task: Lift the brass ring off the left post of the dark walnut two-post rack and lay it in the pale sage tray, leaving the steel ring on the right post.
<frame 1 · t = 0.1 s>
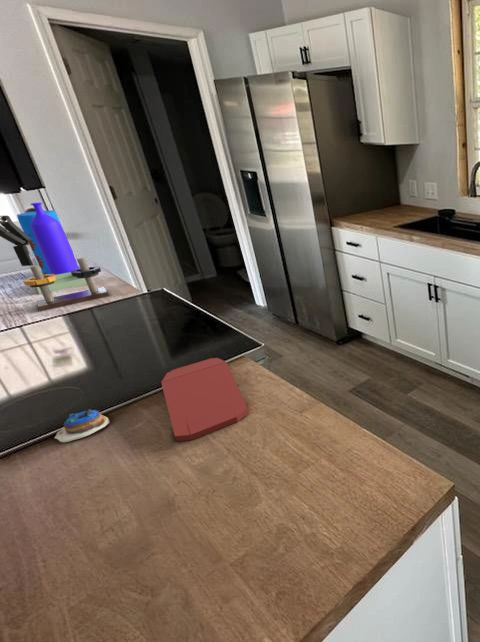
hand: (6, 272, 127), 15 cm above the worktop, tool pointing down, fingers open, 13 cm apart
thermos: (61, 271, 175), on the worktop
ring right: (86, 273, 144), point 9 cm above the worktop, touching rack
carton: (205, 402, 90), on the worktop
rack: (75, 301, 144), on the worktop
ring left: (41, 281, 137), point 9 cm above the worktop, touching rack
tray: (63, 285, 159), on the worktop
dessert: (84, 430, 82), on the worktop
bottle: (67, 276, 169), on the worktop
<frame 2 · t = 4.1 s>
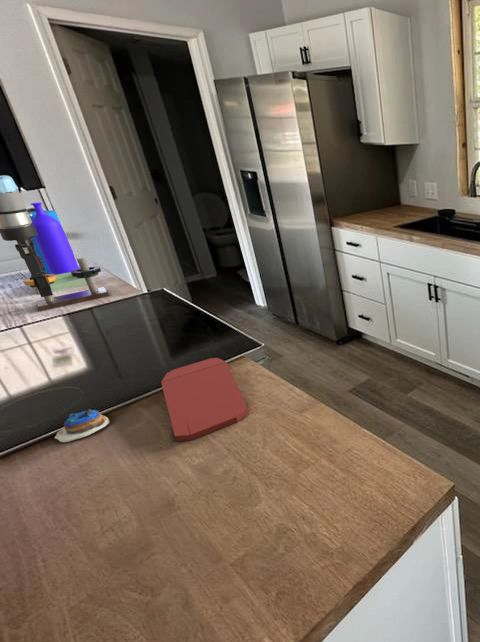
hand: (46, 293, 138), 5 cm above the worktop, tool pointing down, fingers closed on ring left, 7 cm apart
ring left: (41, 281, 137), point 9 cm above the worktop, touching gripper, rack
everything else where it was.
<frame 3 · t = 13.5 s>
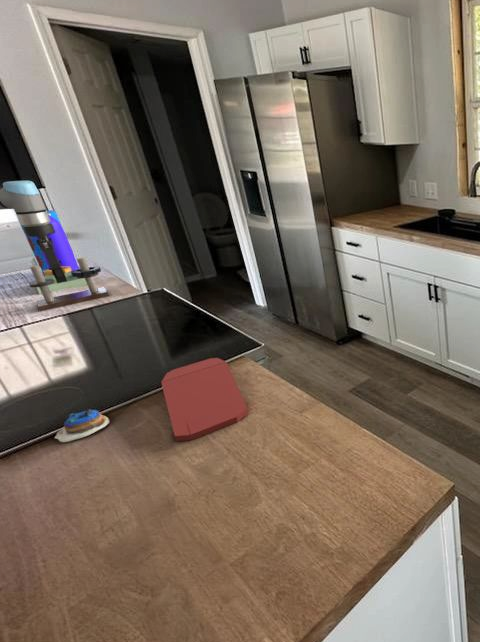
hand: (62, 282, 159), 1 cm above the worktop, tool pointing down, fingers closed on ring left, 7 cm apart
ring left: (58, 272, 157), point 5 cm above the worktop, touching gripper
everything else where it was.
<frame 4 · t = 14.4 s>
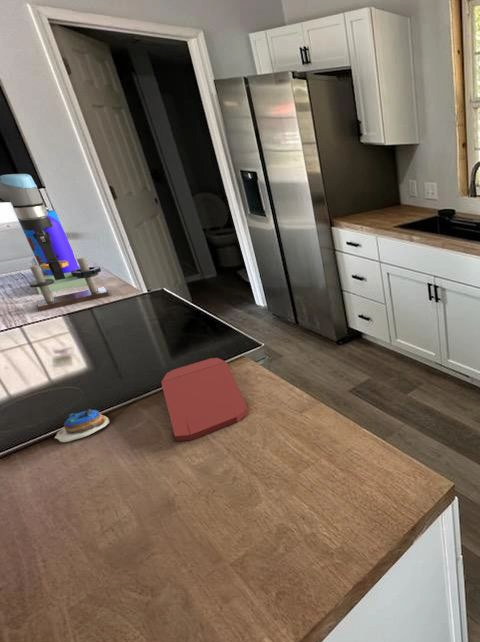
hand: (59, 276, 158), 3 cm above the worktop, tool pointing down, fingers closed on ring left, 7 cm apart
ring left: (55, 266, 156), point 7 cm above the worktop, touching gripper
everything else where it was.
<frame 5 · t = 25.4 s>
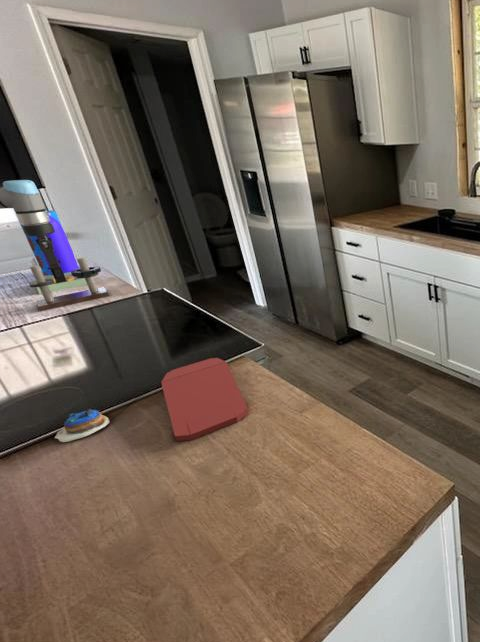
hand: (61, 282, 159), 1 cm above the worktop, tool pointing down, fingers closed on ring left, 7 cm apart
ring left: (62, 282, 159), point 1 cm above the worktop, touching gripper
everything else where it was.
when the fingers open (3 cm above the worktop, at t = 26.0 s): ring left drops 2 cm, resting on tray.
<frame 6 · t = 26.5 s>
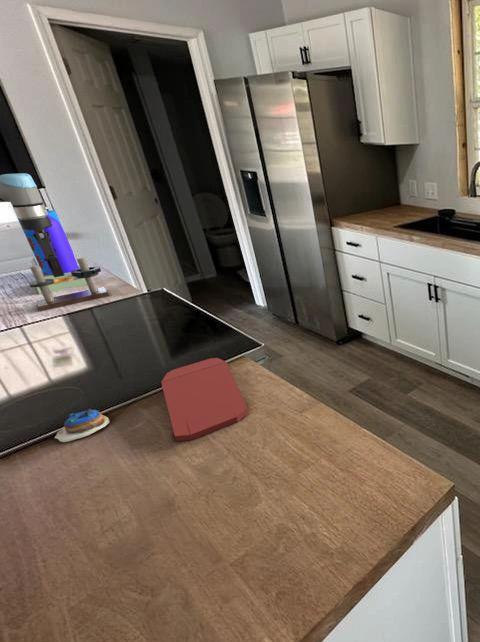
hand: (58, 272, 157), 5 cm above the worktop, tool pointing down, fingers open, 13 cm apart
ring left: (62, 283, 159), point 1 cm above the worktop, touching tray
bottle: (67, 276, 169), on the worktop, touching hand
everything else where it was.
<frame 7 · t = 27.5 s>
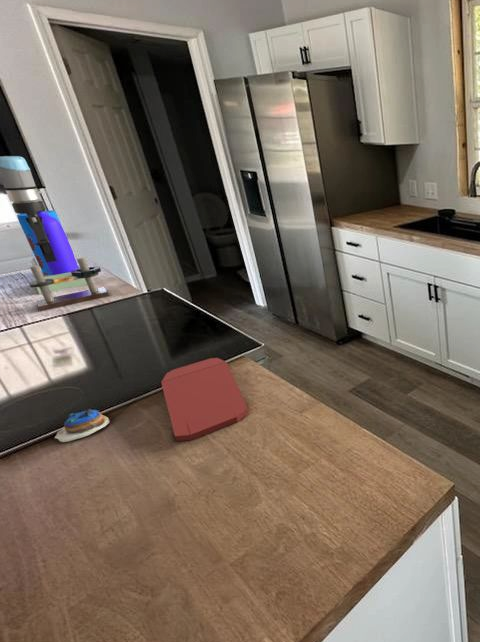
hand: (50, 258, 155), 11 cm above the worktop, tool pointing down, fingers open, 13 cm apart
bottle: (67, 276, 169), on the worktop
everything else where it was.
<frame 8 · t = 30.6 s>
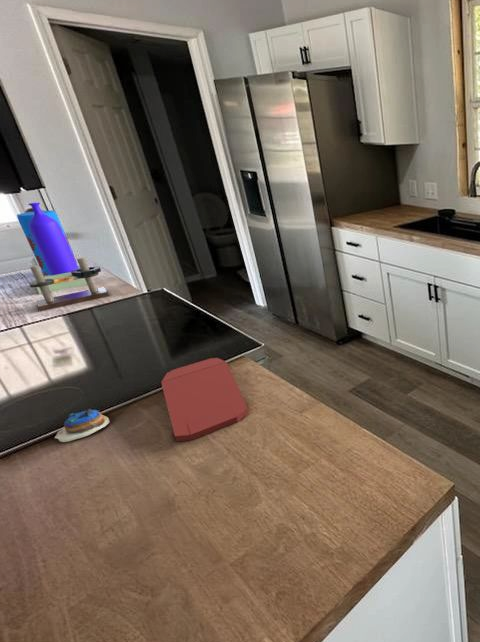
nothing on the worktop moved.
at the end: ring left inside the target area in the tray (0.0 cm from its centre), point 0.8 cm above the tray's base; ring right moved 0.0 cm from its start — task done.
